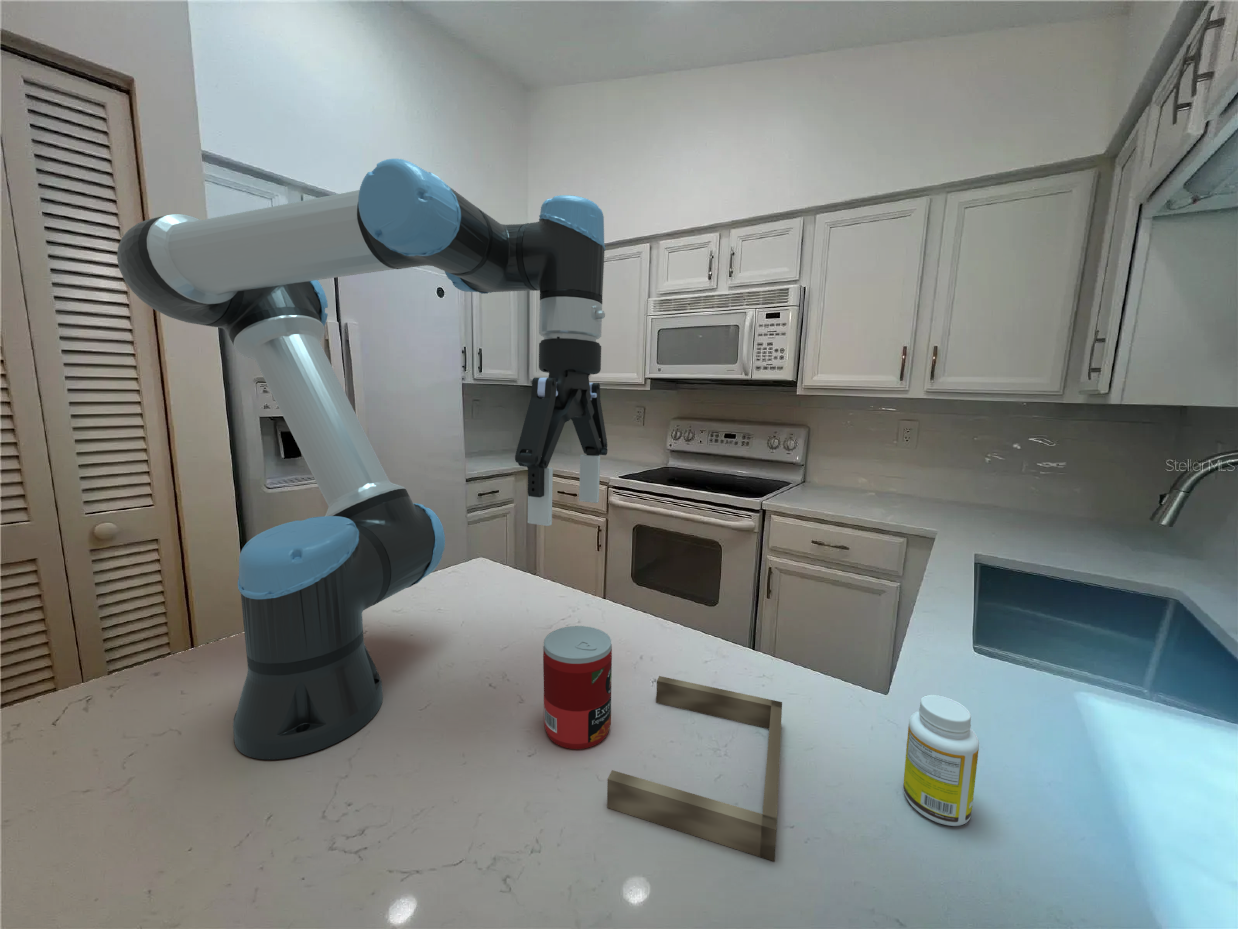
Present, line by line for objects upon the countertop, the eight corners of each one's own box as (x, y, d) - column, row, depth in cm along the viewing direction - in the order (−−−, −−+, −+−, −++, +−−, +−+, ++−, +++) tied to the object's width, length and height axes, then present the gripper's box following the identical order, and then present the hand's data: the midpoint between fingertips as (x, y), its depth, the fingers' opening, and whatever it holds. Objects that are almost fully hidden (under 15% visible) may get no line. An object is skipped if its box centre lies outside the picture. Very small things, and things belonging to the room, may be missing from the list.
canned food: (602, 756, 52) (603, 662, 51) (533, 745, 54) (532, 653, 52) (617, 712, 59) (618, 629, 58) (556, 703, 61) (555, 622, 60)
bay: (607, 807, 45) (607, 779, 45) (658, 697, 63) (659, 675, 62) (774, 861, 40) (776, 829, 40) (780, 725, 57) (782, 702, 57)
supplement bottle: (940, 780, 49) (950, 688, 48) (986, 827, 44) (998, 725, 42) (889, 783, 49) (897, 690, 47) (929, 832, 43) (940, 728, 42)
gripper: (547, 322, 45) (543, 541, 48) (633, 351, 68) (627, 497, 71) (480, 324, 47) (481, 531, 50) (585, 351, 71) (581, 492, 73)
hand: (566, 511), depth 61 cm, fingers open, 13 cm apart
